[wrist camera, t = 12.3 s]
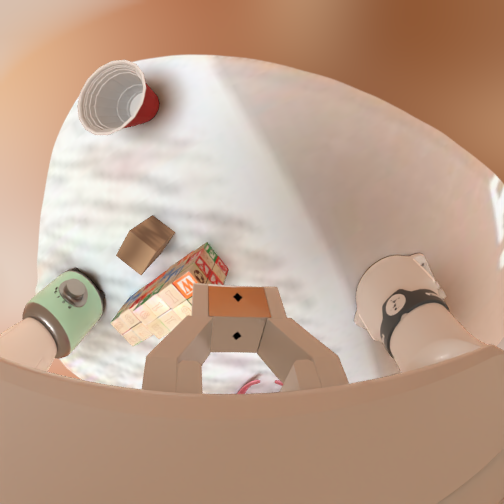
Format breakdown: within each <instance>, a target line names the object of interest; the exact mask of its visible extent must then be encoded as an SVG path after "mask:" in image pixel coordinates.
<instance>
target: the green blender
mask: <svg viewBox="0 0 504 504" xmlns="http://www.w3.org/2000/svg"><path fill="white" fill-rule="evenodd" d="M104 298H105V294H104V293H103V292H102V291H99V290H98V288H97V287H96V285H95V284H94V283H93V282H92V281H91V279H90V278H88V277H87V276H86V275H84V274H83V273H81V272H80V271H79V270H78V269H77V268H74V269H72V270H70V271H66V272H64V273H63V274H61V275H60V276H59V277H57V278H56V279H55V280H54V281H52V282H51V283H50V284H49V285H47V286H46V287H45V288H44V289H43V290H41V291H40V292H39V293H38V294H37V295H35V296H34V297H33V298H32V299H31V300H30V301H29V302H28V303H27V304H26V306H25V309H24V312H23V320H22V321H20V322H19V323H17V324H15V325H14V326H12V327H11V328H9V329H7V330H6V331H4V332H3V333H1V334H0V357H2V358H5V359H8V360H11V361H14V362H17V363H20V364H23V365H26V366H29V367H32V368H36V369H39V370H43V371H46V372H47V371H48V369H49V367H50V365H51V364H52V361H53V360H54V358H62V357H66V356H68V355H69V354H70V353H71V352H72V351H73V350H74V349H75V348H76V346H77V345H78V344H79V343H80V342H81V340H82V339H83V338H84V337H85V335H86V334H87V333H88V332H89V331H90V329H91V328H92V327H93V326H94V325H95V324H96V322H97V321H98V320H99V319H100V318H101V315H102V313H103V299H104Z"/></svg>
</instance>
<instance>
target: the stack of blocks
mask: <svg viewBox="0 0 504 504" xmlns="http://www.w3.org/2000/svg"><path fill="white" fill-rule="evenodd" d="M227 272H228V268H227V267H226V265H225V264H224V263H223V261H222V260H221V259H220V258H219V256H217V254H216V253H215V252H214V250H213V249H212V248H211V246H210V245H209V244H208V242H206V243H205V244H204V245H202V246H201V247H199V248H198V249H196V250H195V251H193V252H191V253H190V254H188V255H187V256H185V257H184V258H183V259H181V260H180V261H178V262H177V263H175V264H174V265H173V266H171V267H170V268H169V269H168V270H167V271H165V272H164V273H163V274H161V275H160V276H159V277H158V278H156V279H155V280H153V281H152V282H151V283H149V284H147V285H146V286H144V287H143V288H141V289H140V290H139V291H138V292H136V293H135V294H134V295H132V296H131V297H130V298H129V299H128V300H127V302H126V303H125V304H124V305H123V306H122V308H121V309H120V310H119V311H118V313H117V315H116V316H115V318H114V319H113V320H112V322H111V324H112V326H113V327H114V328H115V329H116V330H117V331H118V332H119V333H120V334H121V335H122V336H123V337H124V338H125V339H126V340H127V341H128V342H129V343H130V344H131V345H132V346H135V345H137V344H138V343H140V342H141V341H144V340H145V339H147V338H149V337H150V336H152V335H155V336H156V337H157V338H158V339H160V338H162V337H163V336H165V335H167V334H168V333H170V332H171V331H172V330H173V329H174V328H175V327H176V326H177V325H178V324H179V323H180V322H181V321H182V320H183V319H184V318H185V317H186V316H187V315H189V316H191V312H192V293H193V284H194V283H202V284H218V285H224V282H225V279H226V276H227Z"/></svg>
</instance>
